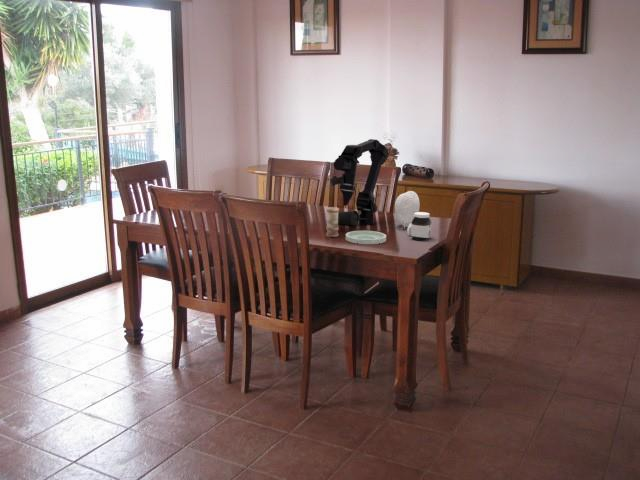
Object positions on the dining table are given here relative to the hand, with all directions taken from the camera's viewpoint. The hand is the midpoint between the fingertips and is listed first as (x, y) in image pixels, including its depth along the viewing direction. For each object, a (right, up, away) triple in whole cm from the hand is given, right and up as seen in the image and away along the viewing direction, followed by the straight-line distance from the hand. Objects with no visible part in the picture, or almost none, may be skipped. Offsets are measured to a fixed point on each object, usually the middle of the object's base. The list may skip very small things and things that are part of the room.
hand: (345, 205), depth 332 cm
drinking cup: (-7, -5, +19) cm, 21 cm away
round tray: (+9, -16, -15) cm, 23 cm away
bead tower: (-6, -14, -10) cm, 18 cm away
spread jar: (+33, -15, -9) cm, 37 cm away
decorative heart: (+30, -10, +13) cm, 34 cm away
